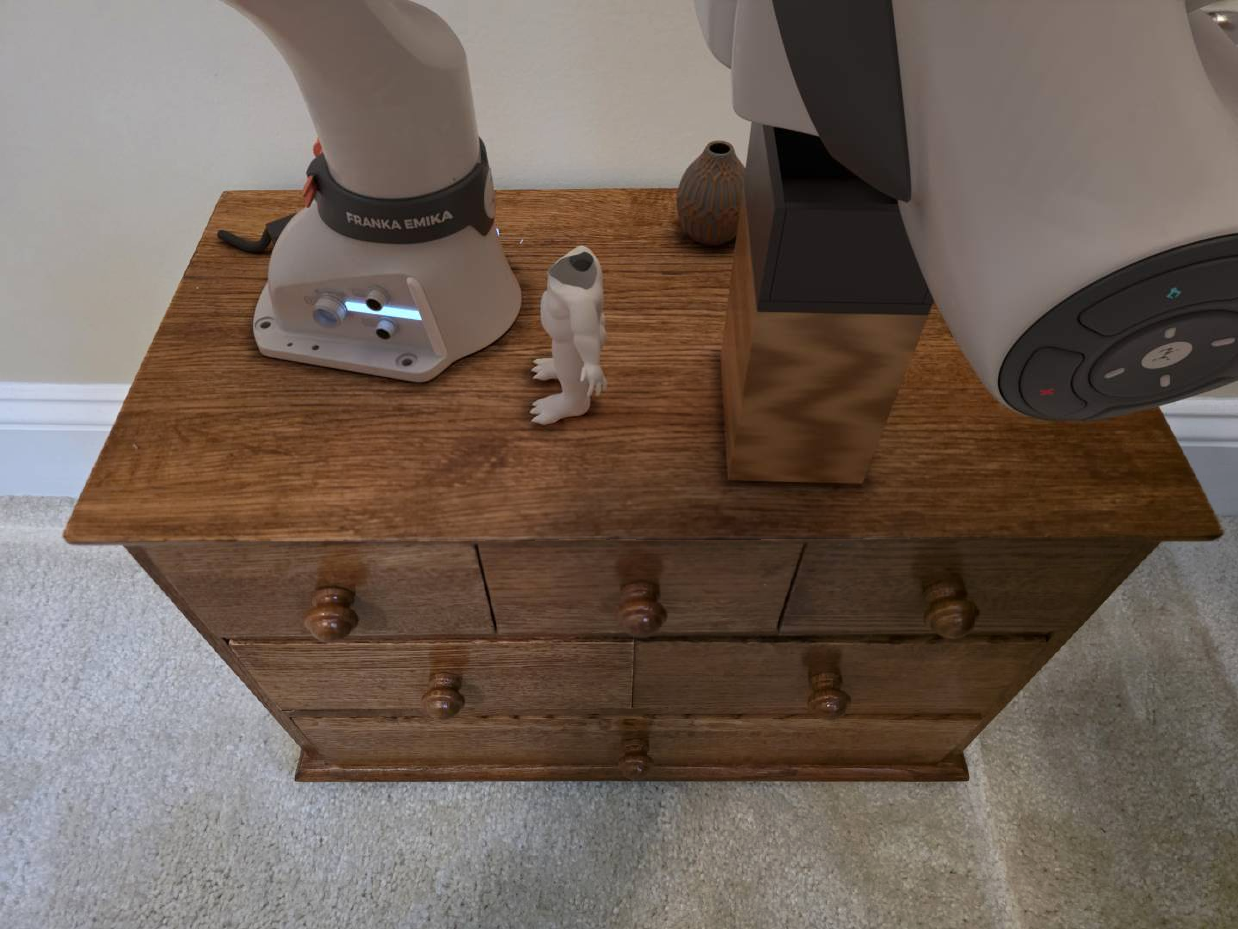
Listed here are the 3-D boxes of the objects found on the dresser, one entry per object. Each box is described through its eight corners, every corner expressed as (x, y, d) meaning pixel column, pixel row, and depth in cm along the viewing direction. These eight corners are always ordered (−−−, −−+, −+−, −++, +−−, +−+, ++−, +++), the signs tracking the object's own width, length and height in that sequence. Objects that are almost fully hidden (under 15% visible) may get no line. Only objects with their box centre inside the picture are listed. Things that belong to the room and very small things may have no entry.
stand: (727, 480, 59) (756, 311, 46) (720, 356, 66) (743, 183, 54) (862, 484, 58) (928, 315, 46) (839, 359, 66) (890, 186, 53)
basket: (756, 311, 46) (774, 208, 41) (743, 183, 54) (756, 82, 48) (928, 315, 46) (969, 211, 40) (890, 186, 53) (919, 84, 48)
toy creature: (531, 341, 68) (517, 218, 58) (604, 338, 68) (601, 215, 58) (529, 452, 60) (512, 333, 51) (610, 449, 60) (608, 329, 51)
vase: (664, 218, 78) (668, 133, 71) (730, 205, 79) (741, 120, 72) (690, 261, 74) (697, 176, 67) (759, 247, 75) (773, 161, 68)
